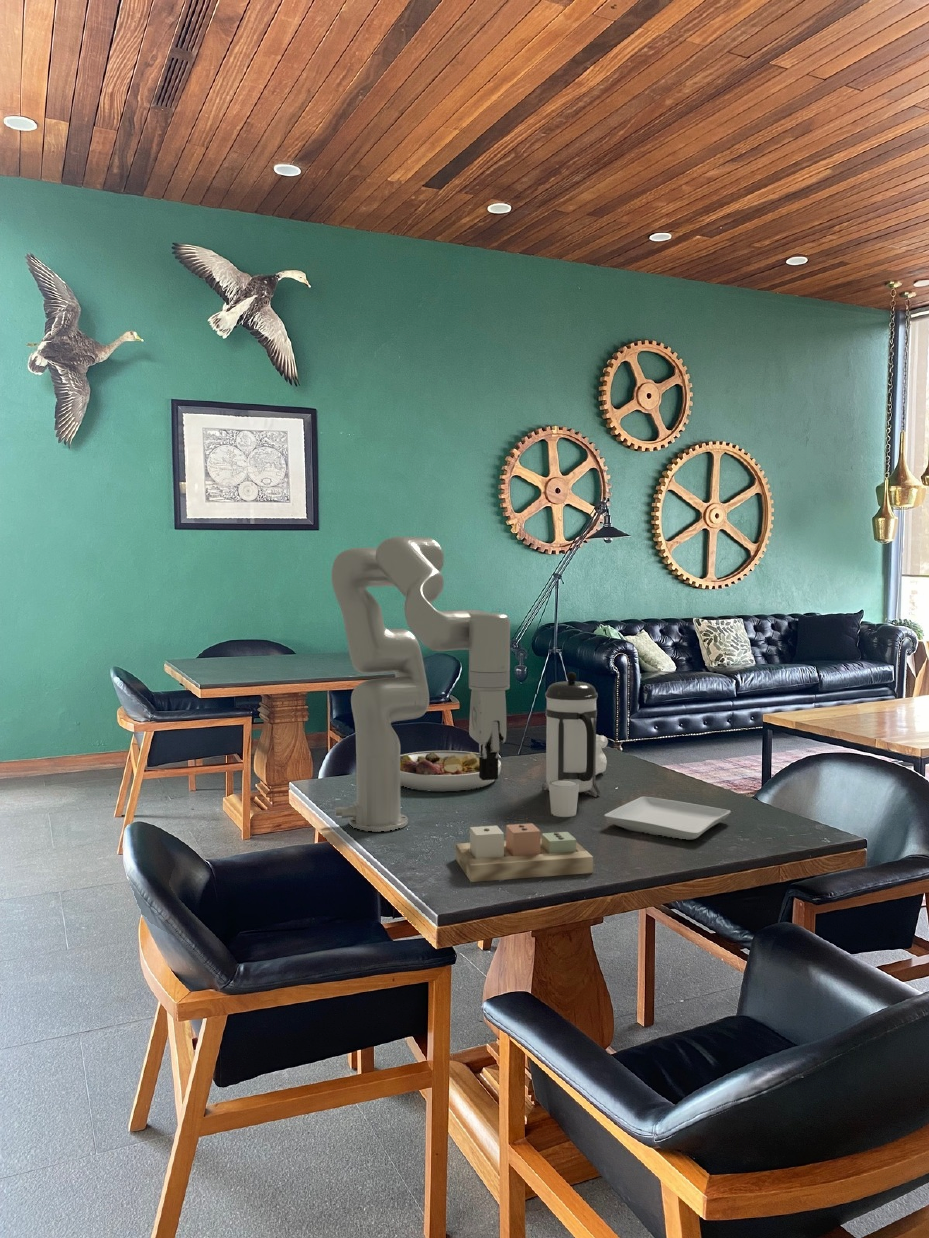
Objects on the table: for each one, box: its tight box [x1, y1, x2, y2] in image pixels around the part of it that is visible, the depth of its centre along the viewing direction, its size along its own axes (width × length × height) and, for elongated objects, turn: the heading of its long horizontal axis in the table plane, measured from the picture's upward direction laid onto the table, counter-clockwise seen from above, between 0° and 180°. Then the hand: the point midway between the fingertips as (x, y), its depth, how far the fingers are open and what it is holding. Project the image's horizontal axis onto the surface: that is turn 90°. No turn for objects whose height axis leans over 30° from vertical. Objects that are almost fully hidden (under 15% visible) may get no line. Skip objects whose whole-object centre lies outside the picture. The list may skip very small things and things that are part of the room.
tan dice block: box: [505, 823, 542, 856], centre depth 175 cm, size 5×5×5 cm
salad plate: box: [603, 796, 731, 841], centre depth 201 cm, size 21×21×3 cm
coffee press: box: [541, 671, 601, 798], centre depth 227 cm, size 17×16×30 cm
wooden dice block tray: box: [455, 839, 594, 883], centre depth 175 cm, size 23×13×3 cm, turn 102°
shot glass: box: [548, 780, 579, 818], centre depth 211 cm, size 7×7×7 cm
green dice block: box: [541, 831, 577, 854], centre depth 176 cm, size 5×5×5 cm
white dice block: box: [469, 825, 505, 859], centre depth 173 cm, size 5×5×5 cm
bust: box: [595, 734, 609, 776], centre depth 252 cm, size 12×8×11 cm
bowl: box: [400, 750, 502, 792], centre depth 243 cm, size 30×30×8 cm
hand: (488, 778), depth 172 cm, fingers closed
